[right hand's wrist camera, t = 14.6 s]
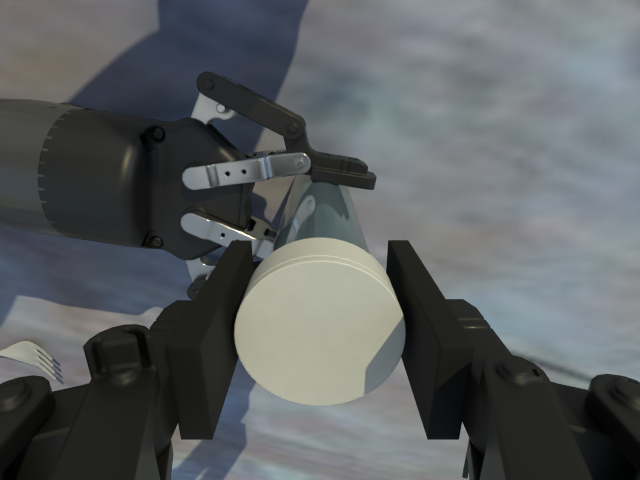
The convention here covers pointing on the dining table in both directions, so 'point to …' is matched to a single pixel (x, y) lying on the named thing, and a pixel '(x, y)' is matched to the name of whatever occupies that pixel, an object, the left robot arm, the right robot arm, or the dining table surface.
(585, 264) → the dining table surface
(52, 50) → the dining table surface
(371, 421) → the dining table surface
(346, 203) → the gray cylinder
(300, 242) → the lid
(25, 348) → the fork
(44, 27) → the dining table surface
